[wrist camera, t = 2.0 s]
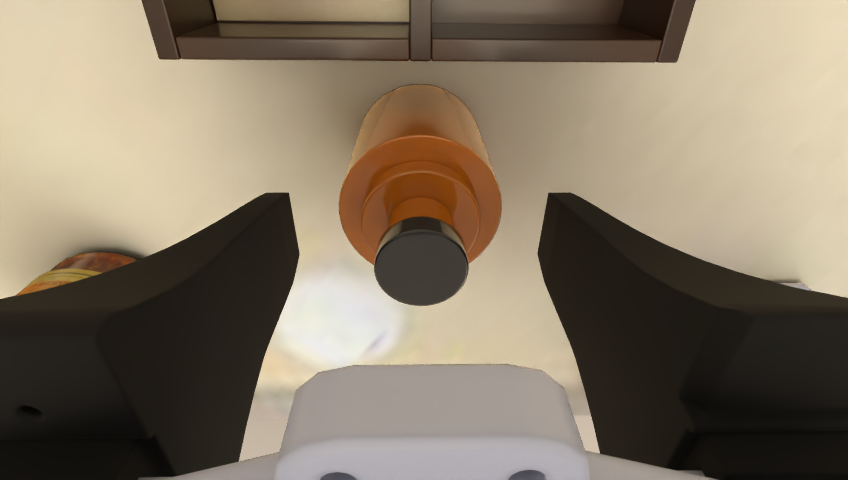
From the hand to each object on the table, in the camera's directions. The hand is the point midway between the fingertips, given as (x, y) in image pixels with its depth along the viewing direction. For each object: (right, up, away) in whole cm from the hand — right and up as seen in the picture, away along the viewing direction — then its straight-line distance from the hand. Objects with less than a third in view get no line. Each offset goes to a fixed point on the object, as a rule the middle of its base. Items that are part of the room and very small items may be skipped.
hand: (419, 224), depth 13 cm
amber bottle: (0, +3, +5) cm, 6 cm away
